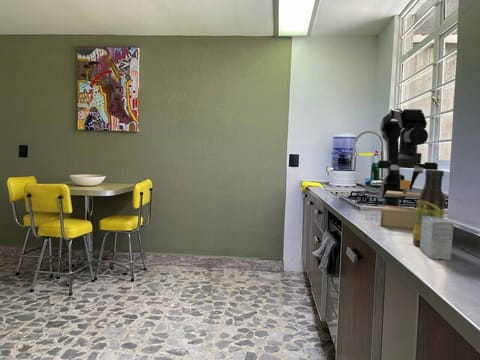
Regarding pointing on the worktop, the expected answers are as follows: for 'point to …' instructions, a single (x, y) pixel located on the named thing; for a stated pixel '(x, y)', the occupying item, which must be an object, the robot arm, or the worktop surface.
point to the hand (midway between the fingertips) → (404, 190)
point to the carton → (398, 217)
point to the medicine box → (436, 237)
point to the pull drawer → (404, 190)
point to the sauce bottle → (429, 201)
